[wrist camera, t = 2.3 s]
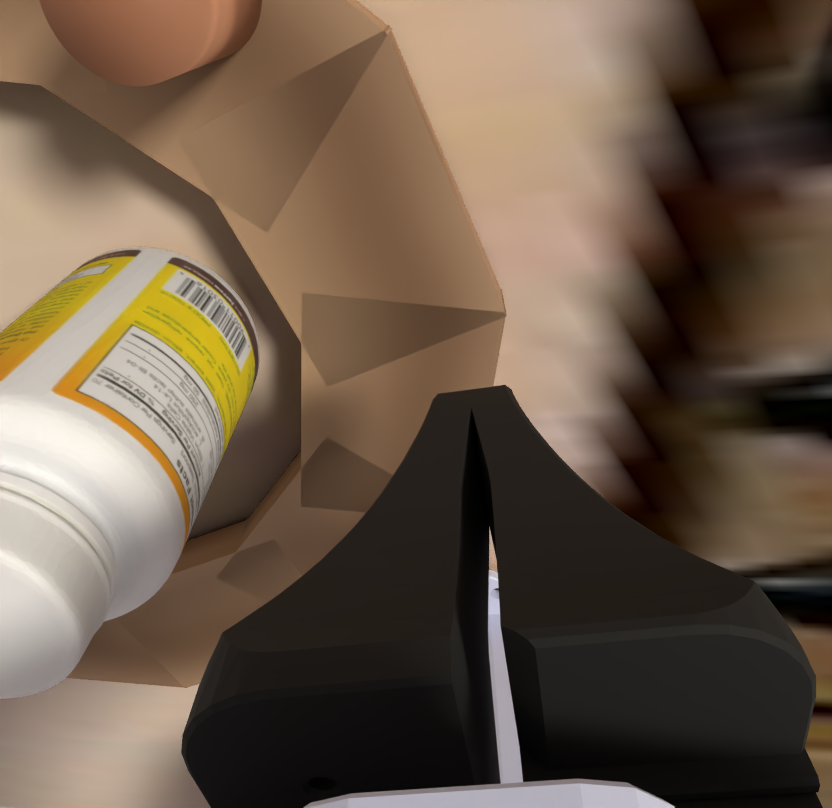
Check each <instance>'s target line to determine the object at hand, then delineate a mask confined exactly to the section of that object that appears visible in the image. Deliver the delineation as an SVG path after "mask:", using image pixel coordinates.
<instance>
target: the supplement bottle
mask: <svg viewBox="0 0 832 808" xmlns="http://www.w3.org/2000/svg"><path fill="white" fill-rule="evenodd" d="M259 357H260V352H259V341H258V336H257V332H256V328H255V325H254V323H253V320H252V318H251V316H250V314H249V311H248V309H247V308H246V306H245V305H244V303H243V301H242V300H241V298H240V297H239V296H238V294H237V293H236V292H235V291H234V290H233V289H232V288H231V287H230V285H229V284H228V283H226V282H225V281H224V280H223V279H222V278H221V277H220V276H219V275H217V274H216V273H215V272H213V271H212V270H211V269H209V268H207V267H206V266H204V265H203V264H201V263H199V262H198V261H195V260H193V259H191V258H189V257H187V256H184V255H182V254H179V253H176V252H172V251H169V250H164V249H159V248H151V247H129V248H122V249H117V250H112V251H109V252H106V253H103V254H101V255H99V256H97V257H95V258H93V259H91V260H89V261H87V262H86V263H84V264H83V265H81V266H80V267H79V268H78V269H77V270H75V271H74V272H73V273H71V274H70V275H69V276H68V277H66V278H65V279H64V280H63V281H62V282H61V283H59V284H58V285H57V286H56V287H55V288H53V289H52V290H51V291H50V292H49V293H48V294H46V295H45V296H44V297H43V298H41V299H40V300H39V301H38V302H37V303H36V304H34V305H33V306H32V307H31V308H30V309H28V310H27V311H26V312H25V313H23V314H22V315H21V316H20V317H19V318H17V319H16V320H15V321H14V322H13V323H12V324H10V325H9V326H8V327H7V328H6V329H5V330H3V331H2V332H1V333H0V699H7V698H18V697H25V696H29V695H34V694H37V693H40V692H42V691H45V690H47V689H49V688H51V687H53V686H55V685H57V684H58V683H60V682H61V681H62V680H64V679H65V678H66V677H67V676H68V675H69V674H70V673H71V672H72V671H73V669H74V668H75V667H76V665H77V664H78V663H79V661H80V659H81V657H82V655H83V654H84V652H85V650H86V648H87V646H88V645H89V643H90V641H91V639H92V637H93V635H94V634H95V633H96V632H97V631H98V629H99V628H100V627H101V626H102V624H103V622H104V621H108V620H111V619H114V618H117V617H119V616H122V615H124V614H126V613H128V612H130V611H132V610H134V609H136V608H137V607H139V606H140V605H142V604H143V603H145V602H146V601H147V600H149V599H150V598H151V597H152V596H154V595H155V594H156V592H157V591H158V590H159V589H160V588H161V587H162V586H163V584H164V583H165V582H166V581H167V579H168V578H169V576H170V574H171V572H172V571H173V569H174V567H175V565H176V563H177V561H178V559H179V557H180V555H181V553H182V550H183V548H184V545H185V543H186V541H187V539H188V536H189V534H190V531H191V529H192V527H193V524H194V522H195V520H196V517H197V515H198V513H199V510H200V508H201V506H202V504H203V501H204V499H205V497H206V494H207V492H208V490H209V487H210V485H211V483H212V480H213V478H214V476H215V473H216V471H217V469H218V466H219V464H220V462H221V459H222V457H223V455H224V452H225V450H226V448H227V446H228V443H229V441H230V438H231V436H232V434H233V432H234V429H235V427H236V425H237V422H238V420H239V418H240V416H241V413H242V411H243V409H244V406H245V404H246V402H247V399H248V397H249V395H250V393H251V391H252V389H253V385H254V382H255V379H256V376H257V372H258V367H259Z"/></svg>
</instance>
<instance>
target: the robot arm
mask: <svg viewBox="0 0 832 808" xmlns="http://www.w3.org/2000/svg"><path fill="white" fill-rule="evenodd" d="M489 526H490V531H491V535H492V540H493V545H494V549H495V554H496V559H497V570H498V573H497V572H495V571H493V570H489ZM495 588H499V590H494V589H495ZM815 698H816V675H815V673H814V671H813V669H812V667H811V665H810V663H809V660H808V658H807V656H806V654H805V652H804V650H803V648H802V646H801V645H800V643H799V641H798V640H797V638H796V636H795V635H794V633H793V632H792V630H791V629H790V627H789V626H788V625H787V623H786V622H785V620H784V619H783V618H782V616H781V615H780V613H779V612H778V611H777V609H776V608H775V607H774V605H773V604H772V603H771V601H770V600H769V599H768V597H767V596H766V595H765V593H764V592H763V591H762V590H761V588H760V587H759V586H758V585H757V583H755V582H754V581H752V580H750V579H748V578H745V577H743V576H741V575H738V574H736V573H734V572H732V571H729V570H727V569H725V568H722V567H720V566H718V565H716V564H713V563H711V562H709V561H706V560H704V559H702V558H700V557H697V556H695V555H693V554H691V553H690V552H688V551H686V550H684V549H682V548H680V547H678V546H676V545H675V544H673V543H671V542H669V541H667V540H665V539H663V538H662V537H660V536H658V535H657V534H655V533H653V532H652V531H650V530H649V529H647V528H646V527H644V526H643V525H641V524H639V523H638V522H636V521H635V520H633V519H632V518H630V517H629V516H627V515H626V514H624V513H623V512H622V511H620V510H619V509H618V508H616V507H615V506H614V505H612V504H611V503H610V502H608V501H607V500H606V499H604V498H603V497H602V496H601V495H600V494H598V493H597V492H596V491H595V490H594V489H592V488H591V487H590V486H589V485H588V484H587V483H586V482H585V481H583V480H582V479H581V478H580V477H579V476H578V475H577V474H576V473H575V472H574V471H573V470H572V469H571V468H570V467H569V466H568V465H567V464H566V463H565V462H564V461H563V460H562V459H561V458H560V457H559V456H558V455H557V453H556V452H555V451H554V450H553V449H552V448H551V447H550V446H549V444H548V443H547V442H546V441H545V440H544V438H543V437H542V436H541V435H540V433H539V432H538V431H537V430H536V429H535V427H534V426H533V425H532V423H531V422H530V421H529V419H528V418H527V416H526V415H525V413H524V412H523V410H522V409H521V407H520V406H519V404H518V402H517V400H516V399H515V397H514V395H513V392H512V390H511V389H510V388H509V387H507V386H506V385H501V386H493V387H485V388H478V389H470V390H463V391H455V392H447V393H440V394H437V395H436V397H435V398H434V399H433V400H432V403H431V406H430V408H429V411H428V413H427V415H426V418H425V420H424V422H423V424H422V426H421V428H420V430H419V432H418V434H417V436H416V438H415V439H414V441H413V443H412V445H411V447H410V448H409V450H408V452H407V454H406V456H405V457H404V459H403V461H402V462H401V464H400V466H399V467H398V469H397V470H396V472H395V473H394V475H393V476H392V478H391V479H390V481H389V482H388V484H387V485H386V487H385V488H384V490H383V491H382V492H381V494H380V495H379V496H378V498H377V499H376V500H375V502H374V503H373V504H372V506H371V507H370V508H369V509H368V511H367V512H366V513H365V514H364V516H363V517H362V518H361V519H360V520H359V521H358V523H357V524H356V525H355V526H354V527H353V528H352V529H351V530H350V532H349V533H348V534H347V535H346V536H345V537H344V538H343V539H342V540H341V541H340V542H339V543H338V544H337V545H336V546H335V547H334V548H333V549H332V550H331V551H330V552H329V553H328V554H327V555H326V556H325V557H324V558H322V559H321V560H320V561H319V562H318V563H317V564H316V565H314V566H313V567H312V568H311V569H310V570H309V571H307V572H306V573H305V574H304V575H303V576H302V577H300V578H299V579H298V580H297V581H295V582H294V583H293V584H291V585H290V586H289V587H288V588H286V589H285V590H284V591H283V592H281V593H280V594H278V595H277V596H276V597H274V598H273V599H272V600H270V601H269V602H267V603H266V604H264V605H263V606H261V607H260V608H258V609H257V610H256V611H254V612H253V613H251V614H250V615H248V616H247V617H245V618H244V619H242V620H241V621H239V622H238V623H236V624H235V625H233V626H232V627H230V628H228V629H227V630H225V631H224V632H222V634H221V636H220V639H219V641H218V644H217V646H216V648H215V650H214V652H213V654H212V656H211V658H210V660H209V662H208V665H207V667H206V669H205V672H204V674H203V677H202V679H201V682H200V685H199V688H198V691H197V694H196V697H195V700H194V703H193V706H192V709H191V712H190V715H189V718H188V721H187V724H186V727H185V730H184V733H183V738H182V752H181V753H182V756H183V758H184V761H185V763H186V766H187V769H188V771H189V772H190V774H191V776H192V777H193V779H194V781H195V782H196V784H197V785H198V787H199V789H200V790H201V792H202V794H203V795H204V797H205V798H206V800H207V802H208V803H209V805H210V807H211V808H822V805H821V803H820V801H819V799H818V797H817V794H816V792H818V791H819V787H820V783H819V779H818V775H817V773H816V771H815V769H814V767H813V765H812V762H811V760H810V758H809V756H808V754H807V752H806V750H805V744H806V739H807V735H808V730H809V725H810V721H811V716H812V712H813V707H814V703H815Z"/></svg>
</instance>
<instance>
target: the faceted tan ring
mask: <svg viewBox="0 0 832 808" xmlns="http://www.w3.org/2000/svg"><path fill="white" fill-rule="evenodd" d="M0 81H5V82H14V83H24V84H33V85H41V86H42V87H44V88H45V89H47V90H48V91H50V92H51V93H53V94H54V95H56V96H58V97H59V98H61V99H62V100H64V101H65V102H67V103H68V104H70V105H71V106H73V107H74V108H76V109H77V110H79V111H80V112H82V113H84V114H85V115H87V116H88V117H90V118H91V119H93V120H94V121H96V122H97V123H99V124H100V125H102V126H103V127H105V128H107V129H108V130H110V131H111V132H113V133H114V134H116V135H117V136H119V137H120V138H122V139H123V140H125V141H126V142H128V143H129V144H131V145H133V146H134V147H136V148H137V149H139V150H140V151H142V152H143V153H145V154H146V155H148V156H149V157H151V158H152V159H154V160H156V161H157V162H159V163H160V164H162V165H163V166H165V167H166V168H168V169H169V170H171V171H172V172H174V173H175V174H177V175H179V176H180V177H182V178H183V179H185V180H186V181H188V182H189V183H191V184H192V185H194V186H195V187H197V188H198V189H200V190H201V191H203V192H205V193H206V194H208V195H209V196H211V197H212V198H213V199H214V200H215V202H216V204H217V205H218V207H219V209H220V210H221V212H222V214H223V215H224V217H225V218H226V220H227V222H228V223H229V225H230V227H231V228H232V230H233V232H234V233H235V235H236V237H237V238H238V240H239V242H240V243H241V245H242V246H243V248H244V250H245V251H246V253H247V255H248V256H249V258H250V260H251V261H252V263H253V265H254V266H255V268H256V270H257V271H258V273H259V275H260V276H261V278H262V279H263V281H264V283H265V284H266V286H267V288H268V289H269V291H270V293H271V294H272V296H273V298H274V299H275V301H276V303H277V304H278V306H279V307H280V309H281V311H282V312H283V314H284V316H285V317H286V319H287V321H288V322H289V324H290V326H291V327H292V329H293V331H294V332H295V334H296V335H297V337H298V339H299V340H300V342H301V451H300V452H299V453H298V455H297V456H296V457H295V458H294V460H293V461H292V462H291V464H290V465H289V466H288V468H287V469H286V470H285V471H284V473H283V474H282V475H281V477H280V478H279V479H278V481H277V482H276V483H275V484H274V486H273V487H272V488H271V490H270V491H269V492H268V494H267V495H266V496H265V497H264V499H263V500H262V501H261V503H260V504H259V505H258V507H257V508H256V509H255V510H254V512H253V513H252V514H251V516H250V517H249V518H248V520H245V521H243V522H240V523H237V524H234V525H231V526H228V527H226V528H223V529H220V530H217V531H214V532H211V533H209V534H206V535H203V536H200V537H197V538H194V539H192V540H189V541H186V543H185V545H184V548H183V550H182V553H181V555H180V557H179V559H178V561H177V563H176V565H175V567H174V569H173V571H172V572H171V574H170V576H169V578H168V579H167V581H166V582H165V583H164V584H163V586H162V587H161V588H160V589H159V590H158V591H157V592H156V594H155V595H154V596H152V597H151V598H150V599H149V600H147V601H146V602H145V603H143V604H142V605H140V606H139V607H137V608H136V609H134V610H132V611H130V612H128V613H126V614H124V615H122V616H119V617H117V618H114V619H111V620H108V621H104V622H103V624H102V626H101V627H100V628H99V629H98V631H97V632H96V633H95V634H94V635H93V637H92V639H91V641H90V643H89V645H88V646H87V648H86V650H85V652H84V654H83V655H82V657H81V659H80V661H79V663H78V664H77V665H76V667H75V668H74V669H73V671H72V672H71V673H70V674H69V675H68V676H67V677H66V678H76V679H88V680H100V681H112V682H124V683H136V684H148V685H160V686H172V687H184V688H187V687H190V686H193V685H197V684H200V682H201V679H202V677H203V674H204V672H205V669H206V667H207V665H208V662H209V660H210V658H211V656H212V654H213V652H214V650H215V648H216V646H217V644H218V641H219V639H220V636H221V634H222V632H224V631H225V630H227V629H228V628H230V627H232V626H233V625H235V624H236V623H238V622H239V621H241V620H242V619H244V618H245V617H247V616H248V615H250V614H251V613H253V612H254V611H256V610H257V609H258V608H260V607H261V606H263V605H264V604H266V603H267V602H269V601H270V600H272V599H273V598H274V597H276V596H277V595H278V594H280V593H281V592H283V591H284V590H285V589H286V588H288V587H289V586H290V585H291V584H293V583H294V582H295V581H297V580H298V579H299V578H300V577H302V576H303V575H304V574H305V573H306V572H307V571H309V570H310V569H311V568H312V567H313V566H314V565H316V564H317V563H318V562H319V561H320V560H321V559H322V558H324V557H325V556H326V555H327V554H328V553H329V552H330V551H331V550H332V549H333V548H334V547H335V546H336V545H337V544H338V543H339V542H340V541H341V540H342V539H343V538H344V537H345V536H346V535H347V534H348V533H349V532H350V530H351V529H352V528H353V527H354V526H355V525H356V524H357V523H358V521H359V520H360V519H361V518H362V517H363V516H364V514H365V513H366V512H367V511H368V509H369V508H370V507H371V506H372V504H373V503H374V502H375V500H376V499H377V498H378V496H379V495H380V494H381V492H382V491H383V490H384V488H385V487H386V485H387V484H388V482H389V481H390V479H391V478H392V476H393V475H394V473H395V472H396V470H397V469H398V467H399V466H400V464H401V462H402V461H403V459H404V457H405V456H406V454H407V452H408V450H409V448H410V447H411V445H412V443H413V441H414V439H415V438H416V436H417V434H418V432H419V430H420V428H421V426H422V424H423V422H424V420H425V418H426V415H427V413H428V411H429V408H430V406H431V403H432V400H433V399H434V398H435V397H436V395H437V394H440V393H447V392H455V391H463V390H470V389H478V388H485V387H493V384H494V378H495V373H496V367H497V361H498V356H499V350H500V344H501V339H502V333H503V327H504V322H505V317H506V310H505V305H504V299H503V294H502V289H500V287H499V284H498V282H497V280H496V277H495V275H494V273H493V270H492V268H491V265H490V263H489V261H488V258H487V256H486V254H485V251H484V249H483V246H482V244H481V242H480V239H479V237H478V235H477V232H476V230H475V227H474V225H473V223H472V220H471V218H470V216H469V213H468V211H467V208H466V206H465V204H464V201H463V199H462V197H461V194H460V192H459V189H458V187H457V185H456V182H455V180H454V178H453V175H452V173H451V170H450V168H449V166H448V163H447V161H446V159H445V156H444V154H443V151H442V149H441V147H440V144H439V142H438V140H437V137H436V135H435V132H434V130H433V128H432V125H431V123H430V121H429V118H428V116H427V113H426V111H425V109H424V106H423V104H422V102H421V99H420V97H419V94H418V92H417V90H416V87H415V85H414V83H413V80H412V78H411V75H410V73H409V71H408V68H407V66H406V64H405V61H404V59H403V56H402V54H401V52H400V49H399V47H398V45H397V42H396V40H395V37H394V35H393V33H392V28H390V26H389V25H387V24H385V23H384V22H383V21H382V20H380V19H379V18H378V17H377V16H375V15H374V14H373V13H372V12H370V11H369V10H368V9H367V8H365V7H364V6H363V5H362V4H360V3H359V2H358V1H357V0H0Z"/></svg>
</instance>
